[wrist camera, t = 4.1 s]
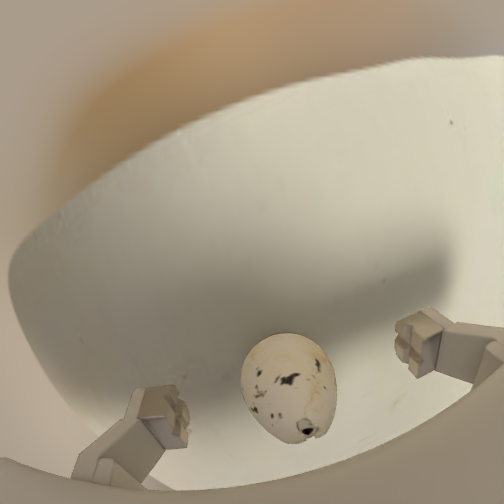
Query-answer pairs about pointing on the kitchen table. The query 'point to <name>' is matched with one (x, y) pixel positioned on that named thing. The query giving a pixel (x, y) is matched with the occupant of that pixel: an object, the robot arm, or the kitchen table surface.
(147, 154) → the kitchen table surface
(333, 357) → the kitchen table surface
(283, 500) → the robot arm
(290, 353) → the egg
